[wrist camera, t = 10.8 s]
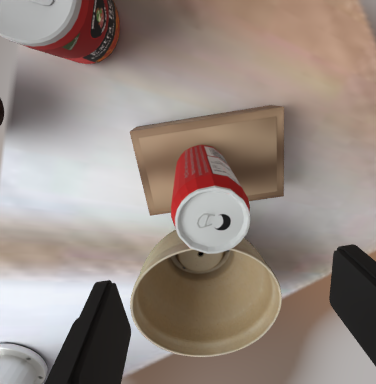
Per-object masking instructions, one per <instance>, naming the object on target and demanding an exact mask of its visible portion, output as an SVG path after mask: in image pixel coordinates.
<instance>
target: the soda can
mask: <svg viewBox="0 0 376 384" xmlns="http://www.w3.org/2000/svg"><path fill="white" fill-rule="evenodd" d="M249 210H250V205H249V201H248V197H247V195H246V194H245V192H244V190H243V188H242V187H241V185H240V183H239V182H238V180H237V178H236V177H235V175H234V173H233V172H232V170H231V168H230V167H229V165H228V163H227V162H226V160H225V158H224V157H223V155H222V154H221V153H220V152H219V151H217V150H216V149H215V148H214V147H211V146H206V145H198V146H193V147H191V148H189V149H187V150H185V151H184V152H183V153H182V154H181V156H180V157H179V159H178V161H177V165H176V171H175V179H174V187H173V195H172V203H171V218H172V220H173V223H174V226H175V229H176V231H177V234H178V236H179V238H180V239H181V240H182V241H183V242H184V243H185V244H186V245H187V246H188V247H189V248H191V249H194V250H197V251H200V252H204V253H207V254H213V253H220V252H224V251H227V250H229V249H231V248H233V247H235V246H236V245H237V244H238V243H240V242H241V241H242V239H243V238H244V237H245V235H246V234H247V231H248V229H249V226H250V213H249Z"/></svg>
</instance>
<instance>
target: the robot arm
mask: <svg viewBox="0 0 376 384" xmlns="http://www.w3.org/2000/svg"><path fill="white" fill-rule="evenodd" d="M330 303H331V306H332V307H333V309H334V310H335V312H336V313H337V314H338V316H339V317H340V318H341V320H342V321H343V323H344V324H345V325H346V327H347V328H348V329H349V331H350V332H351V333H352V335H353V336H354V337H355V339H356V340H357V342H358V343H359V344H360V346H361V347H362V348H363V350H364V351H365V352H366V354H367V355H368V356H369V358H370V359H371V360H372V362H373V363H374V365H375V366H376V261H374V260H373V259H372V258H371V257H370V256H368V255H367V254H366V253H365V252H363V251H362V250H361V249H360V248H359V247H357V246H356V245H346V246H340V247H338V248H337V251H334V255H333V266H332V276H331V287H330ZM130 337H131V328H130V324H129V321H128V318H127V316H126V313H125V310H124V307H123V304H122V301H121V298H120V295H119V292H118V289H117V286H116V284H115V283H112V282H111V281H110V280H108V281H101V282H96V283H95V284H94V286H93V289H92V291H91V293H90V295H89V297H88V299H87V302H86V304H85V306H84V308H83V310H82V312H81V315H80V317H79V318H78V319H77V320H75V322H74V323H73V325H72V327H71V329H70V331H69V334H68V336H67V338H66V340H65V342H64V344H63V346H62V348H61V350H60V352H59V355H58V357H57V359H56V361H55V363H54V365H53V367H52V369H51V371H50V373H49V376H48V378H47V380H46V382H45V384H121V380H122V375H123V370H124V366H125V361H126V356H127V351H128V346H129V342H130ZM47 372H48V368H47V365H46V363H45V361H44V360H43V359H42V357H41V356H40V355H38V354H37V353H36V352H34V351H32V350H30V349H28V348H26V347H23V346H20V345H15V344H6V343H2V344H0V384H42V383H43V381H44V379H45V377H46V375H47Z"/></svg>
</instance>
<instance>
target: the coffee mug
mask: <svg viewBox="0 0 376 384" xmlns="http://www.w3.org/2000/svg"><path fill="white" fill-rule="evenodd" d="M3 117H4V107H3V103H2V101H1V99H0V125H1V124H2V121H3Z"/></svg>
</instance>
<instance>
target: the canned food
mask: <svg viewBox="0 0 376 384" xmlns="http://www.w3.org/2000/svg"><path fill="white" fill-rule="evenodd" d="M119 31H120V26H119V17H118V12H117V9H116V6H115V3H114V1H113V0H0V36H2V37H3V38H6V39H8V40H10V41H12V42H15V43H18V44H21V45H23V46H26V47H29V48H32V49H35V50H39V51H42V52H45V53H49V54H52V55H55V56H58V57H62V58H65V59H68V60H72V61H75V62H78V63H84V64H91V63H96V62H100V61H102V60H103V59H105V58H107V57H108V56H109V55H110V54H111V53H112V51H113V49H114V48H115V46H116V44H117V41H118V37H119Z"/></svg>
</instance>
